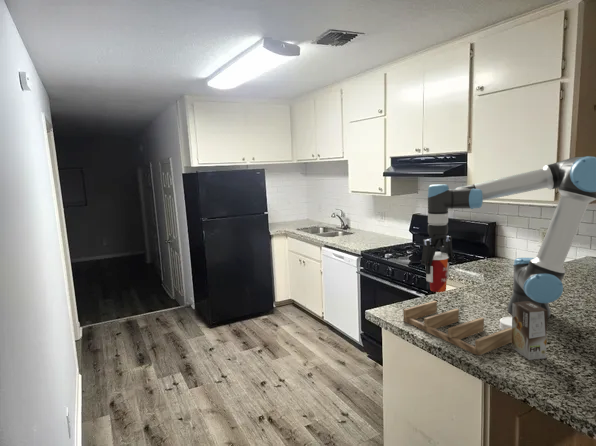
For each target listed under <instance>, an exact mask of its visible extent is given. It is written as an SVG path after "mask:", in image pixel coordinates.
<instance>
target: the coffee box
mask: <svg viewBox="0 0 596 446" xmlns="http://www.w3.org/2000/svg"><path fill="white" fill-rule="evenodd" d="M547 316H548V310H546V309H544V308H542V307H540V306H538V305H536V304H534V303H532V302H530V301H524V302H516V303H513V305H512V314H511V317H512V343H511V348H512V349H513V350H514V351H516V352H517V353H519V355H521V356H522V357H524V358H525V359H526V360H528V361H531V360H532V361H533V360H541V359H547V340H548V318H547Z"/></svg>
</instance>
